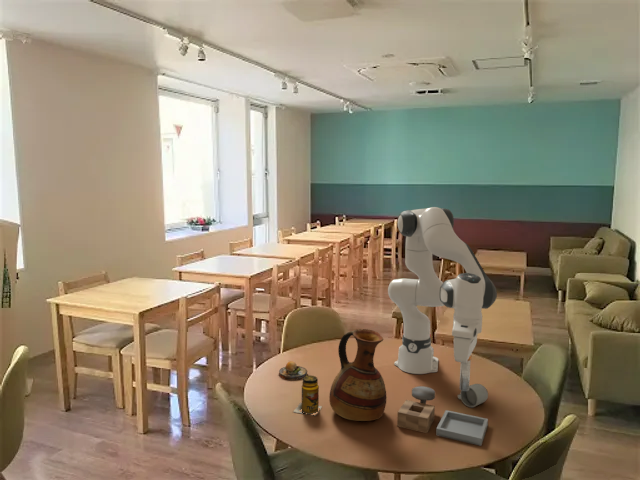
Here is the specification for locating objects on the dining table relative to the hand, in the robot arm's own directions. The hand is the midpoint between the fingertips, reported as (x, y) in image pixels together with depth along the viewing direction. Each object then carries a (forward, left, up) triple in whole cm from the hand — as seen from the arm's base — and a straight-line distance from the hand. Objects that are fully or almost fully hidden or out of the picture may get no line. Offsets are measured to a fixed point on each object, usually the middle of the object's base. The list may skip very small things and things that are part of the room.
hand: (465, 366), depth 160 cm
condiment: (+10, -52, -22) cm, 57 cm away
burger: (-15, -72, -22) cm, 77 cm away
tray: (0, 0, -22) cm, 22 cm away
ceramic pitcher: (+5, -35, -22) cm, 42 cm away
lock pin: (0, 0, -8) cm, 8 cm away
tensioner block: (-2, -15, -22) cm, 27 cm away
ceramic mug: (-22, -1, -22) cm, 31 cm away
